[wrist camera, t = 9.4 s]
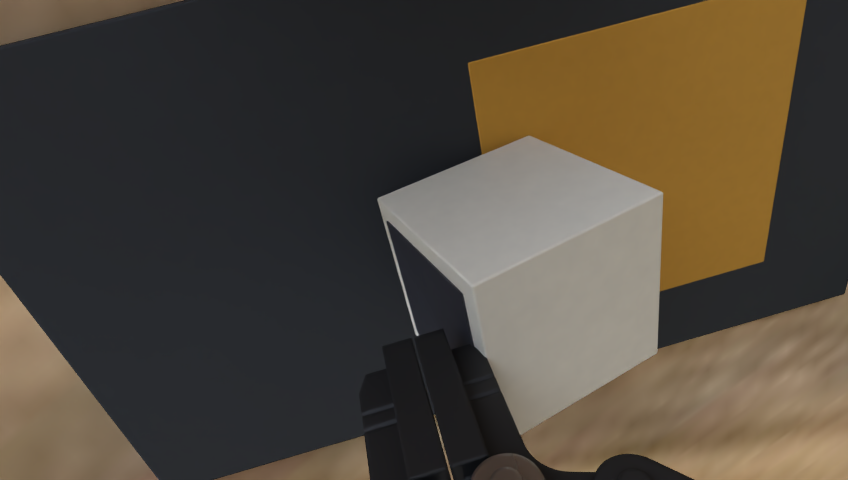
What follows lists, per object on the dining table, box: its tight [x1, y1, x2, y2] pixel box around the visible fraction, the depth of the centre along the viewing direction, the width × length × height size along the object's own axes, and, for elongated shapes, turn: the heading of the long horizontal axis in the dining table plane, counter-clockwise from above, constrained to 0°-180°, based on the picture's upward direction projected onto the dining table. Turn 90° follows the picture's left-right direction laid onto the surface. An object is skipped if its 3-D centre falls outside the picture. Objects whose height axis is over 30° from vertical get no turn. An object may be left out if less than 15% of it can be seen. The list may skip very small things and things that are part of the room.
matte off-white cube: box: [377, 136, 663, 435], centre depth 15 cm, size 5×5×5 cm
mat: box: [0, 0, 848, 480], centre depth 17 cm, size 16×28×1 cm, turn 102°
